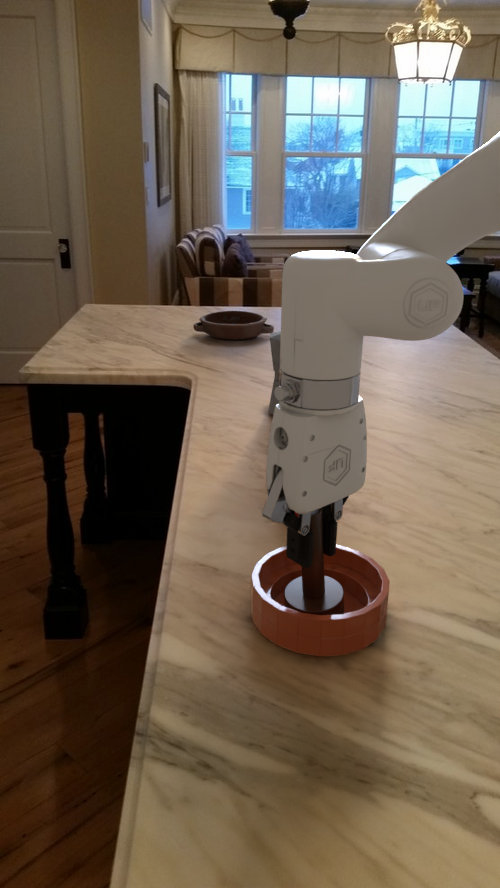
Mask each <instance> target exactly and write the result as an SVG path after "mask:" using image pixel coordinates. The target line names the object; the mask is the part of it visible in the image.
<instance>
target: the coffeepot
mask: <svg viewBox="0 0 500 888" xmlns="http://www.w3.org/2000/svg"><path fill="white" fill-rule="evenodd" d="M280 343H281V329H277V330H276V331H273V333H269V344H270V345H269V346H270V352H271V362H272V368H273V371H274V378H273V383H272V388H271V393H270V398H269V403H268V404H269V405H268V413H269V414H270V415H272V416H273V415H274V411H275V406H276V405H277V404H278V403H279V401H278V400H277V399H276V398H275V395H274V390H275V388H276V387H279V379H280Z"/></svg>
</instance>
